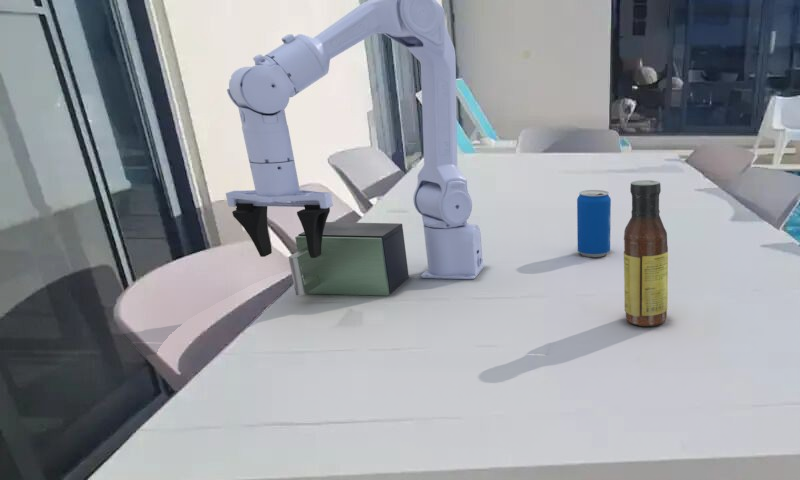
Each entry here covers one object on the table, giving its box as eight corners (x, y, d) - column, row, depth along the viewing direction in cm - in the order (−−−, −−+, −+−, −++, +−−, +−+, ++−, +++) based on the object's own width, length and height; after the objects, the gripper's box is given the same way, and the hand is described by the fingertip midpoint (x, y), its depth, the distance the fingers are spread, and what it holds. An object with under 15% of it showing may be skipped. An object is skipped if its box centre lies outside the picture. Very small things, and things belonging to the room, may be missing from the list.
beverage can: (606, 259, 123) (607, 196, 118) (574, 257, 125) (573, 194, 119) (612, 250, 129) (613, 190, 124) (581, 248, 130) (581, 188, 125)
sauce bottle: (671, 316, 95) (678, 179, 87) (660, 330, 90) (667, 187, 82) (629, 310, 97) (632, 177, 89) (616, 325, 92) (618, 184, 84)
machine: (390, 294, 104) (382, 236, 100) (309, 292, 104) (297, 234, 100) (409, 278, 112) (402, 223, 108) (333, 276, 112) (324, 221, 108)
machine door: (374, 308, 97) (365, 248, 94) (288, 305, 98) (275, 246, 94) (389, 294, 103) (382, 237, 99) (308, 292, 104) (297, 235, 100)
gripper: (204, 163, 86) (227, 261, 92) (308, 165, 85) (326, 264, 91) (234, 157, 92) (255, 249, 98) (332, 158, 92) (347, 251, 97)
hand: (291, 255), depth 95 cm, fingers open, 7 cm apart
